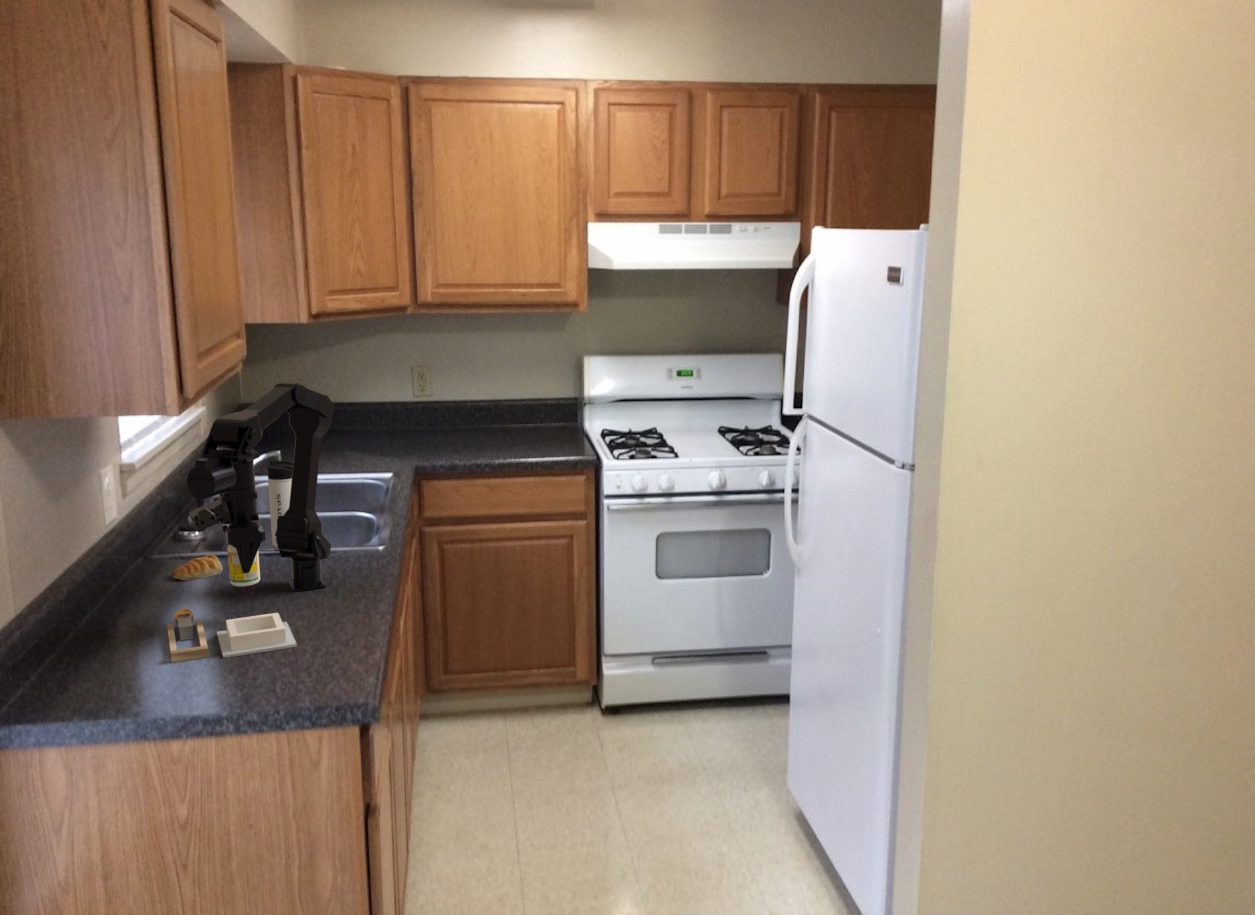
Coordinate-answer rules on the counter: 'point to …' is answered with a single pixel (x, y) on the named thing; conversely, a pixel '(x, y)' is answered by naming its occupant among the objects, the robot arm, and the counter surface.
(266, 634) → the socket
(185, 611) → the lock pin
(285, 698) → the counter surface
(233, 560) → the supplement bottle
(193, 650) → the mount
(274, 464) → the travel mug
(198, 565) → the pastry
